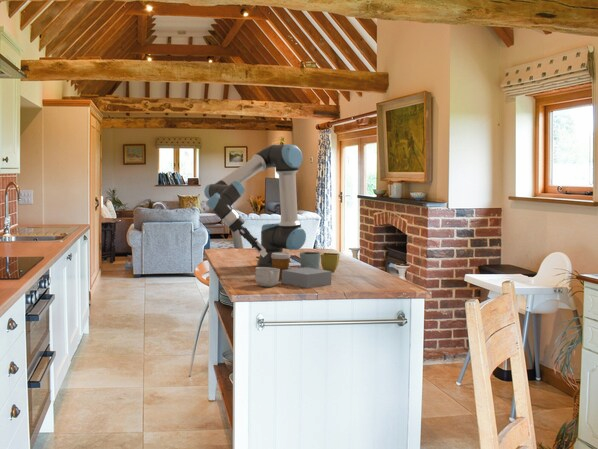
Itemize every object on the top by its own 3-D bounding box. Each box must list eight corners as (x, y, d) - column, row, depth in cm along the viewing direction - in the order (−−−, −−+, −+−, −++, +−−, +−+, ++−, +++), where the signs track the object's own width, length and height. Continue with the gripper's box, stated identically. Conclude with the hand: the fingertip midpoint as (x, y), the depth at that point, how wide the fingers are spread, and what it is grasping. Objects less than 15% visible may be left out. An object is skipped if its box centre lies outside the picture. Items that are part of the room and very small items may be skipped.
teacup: (254, 283, 297) (255, 266, 296) (278, 283, 298) (279, 266, 297) (255, 289, 283) (255, 270, 282) (280, 289, 284) (281, 271, 283)
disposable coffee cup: (293, 277, 316) (293, 253, 315) (286, 280, 307) (286, 255, 306) (274, 276, 319) (275, 251, 318) (267, 279, 310) (267, 253, 309)
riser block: (281, 283, 299) (281, 270, 299) (305, 279, 311) (305, 267, 310) (307, 288, 288) (307, 274, 288) (331, 284, 300) (331, 271, 299)
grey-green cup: (305, 279, 312) (305, 254, 311) (295, 276, 321) (296, 251, 320) (323, 278, 317) (324, 253, 316) (313, 275, 326) (314, 251, 325)
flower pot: (336, 272, 335) (337, 255, 334) (319, 272, 337) (320, 254, 336) (339, 270, 344) (339, 253, 343) (322, 269, 345) (323, 252, 345)
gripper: (227, 224, 320) (257, 255, 323) (227, 229, 295) (260, 262, 298) (239, 214, 320) (269, 245, 323) (239, 217, 295) (272, 251, 298)
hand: (264, 253), depth 310 cm, fingers open, 13 cm apart
